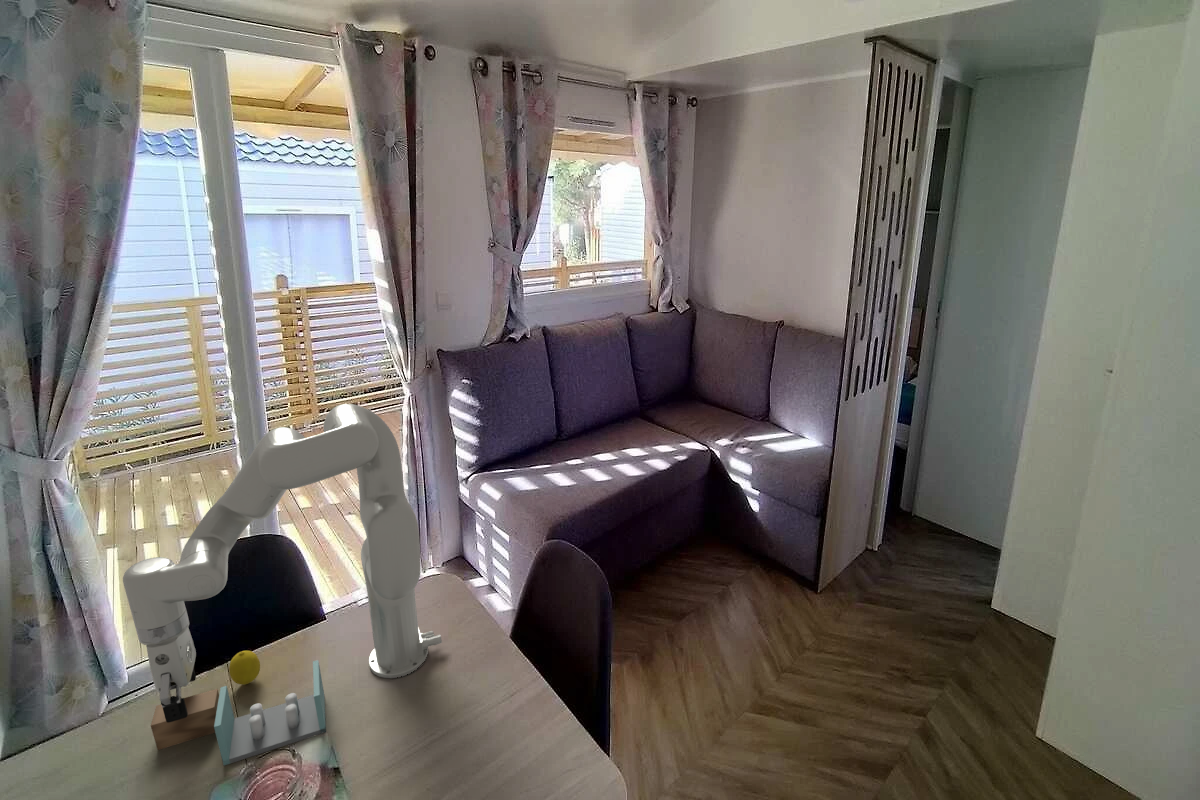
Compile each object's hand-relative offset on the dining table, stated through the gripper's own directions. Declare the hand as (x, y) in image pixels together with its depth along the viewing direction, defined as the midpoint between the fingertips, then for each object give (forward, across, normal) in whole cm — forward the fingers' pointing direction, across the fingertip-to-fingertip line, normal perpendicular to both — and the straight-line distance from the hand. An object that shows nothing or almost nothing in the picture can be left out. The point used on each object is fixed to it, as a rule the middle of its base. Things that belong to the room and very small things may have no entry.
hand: (182, 699), depth 112 cm
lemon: (+8, +9, -9) cm, 15 cm away
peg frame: (+7, -6, -15) cm, 18 cm away
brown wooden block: (+8, 0, 0) cm, 8 cm away
